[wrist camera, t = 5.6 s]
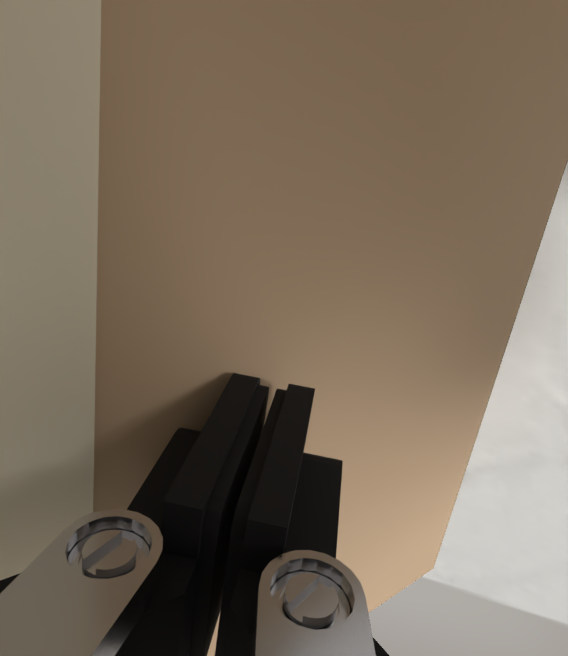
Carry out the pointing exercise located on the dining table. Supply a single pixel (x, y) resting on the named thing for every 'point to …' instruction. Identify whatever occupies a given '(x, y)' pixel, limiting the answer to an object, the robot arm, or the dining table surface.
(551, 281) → the dining table surface
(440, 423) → the box lid
